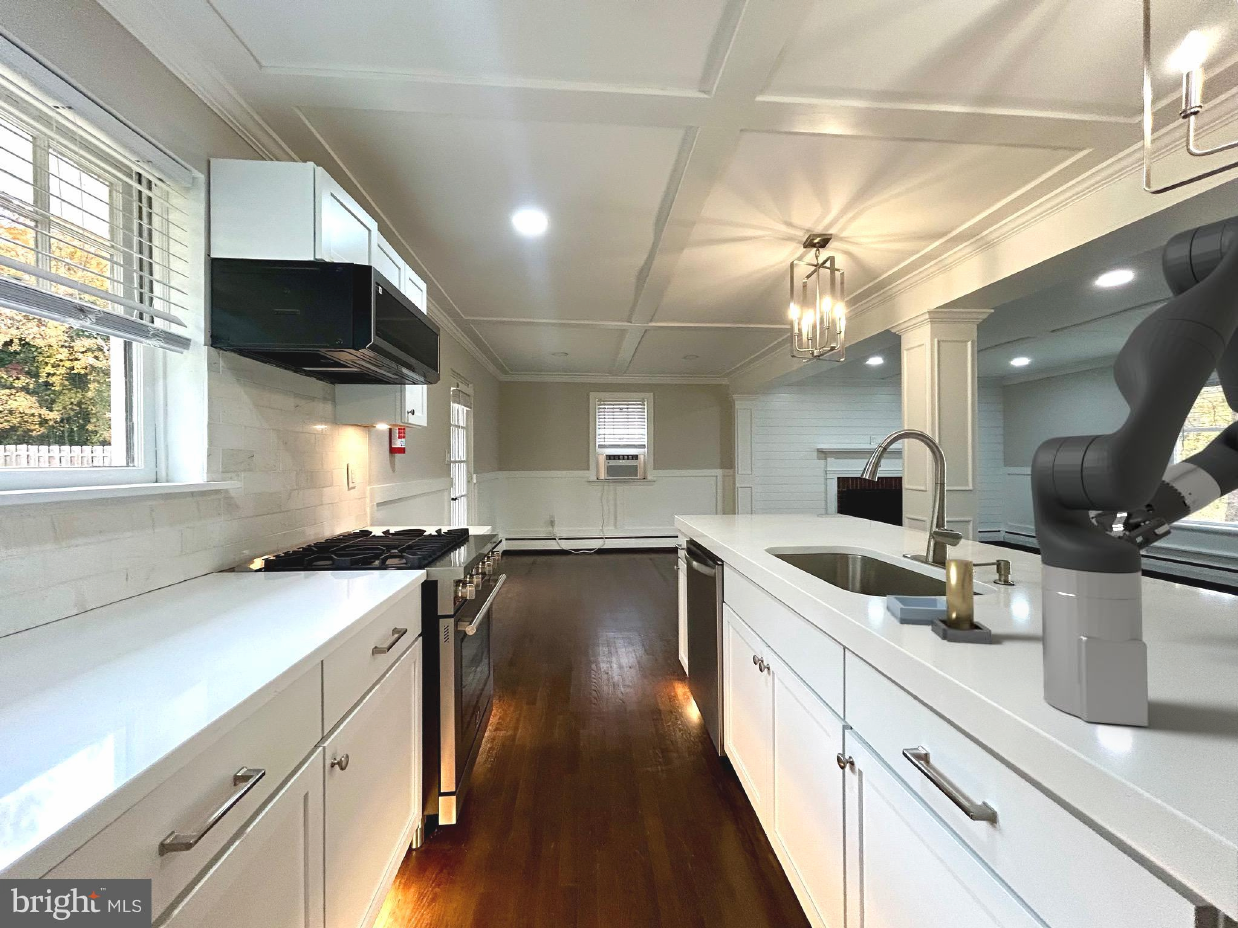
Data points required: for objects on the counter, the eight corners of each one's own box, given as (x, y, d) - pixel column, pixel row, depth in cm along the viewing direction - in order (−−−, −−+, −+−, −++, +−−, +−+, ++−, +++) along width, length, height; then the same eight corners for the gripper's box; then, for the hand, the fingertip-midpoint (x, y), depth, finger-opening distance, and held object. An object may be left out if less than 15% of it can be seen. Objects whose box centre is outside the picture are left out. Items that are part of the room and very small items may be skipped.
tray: (960, 626, 98) (959, 610, 98) (900, 623, 101) (900, 607, 101) (940, 612, 108) (940, 597, 108) (886, 609, 110) (886, 595, 110)
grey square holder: (994, 644, 88) (994, 632, 88) (944, 641, 90) (944, 629, 90) (975, 630, 96) (975, 619, 96) (929, 628, 97) (929, 617, 97)
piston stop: (978, 640, 90) (976, 563, 91) (951, 638, 91) (950, 562, 92) (968, 633, 94) (967, 559, 94) (943, 631, 95) (942, 558, 95)
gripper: (1120, 468, 92) (1029, 516, 95) (1200, 484, 78) (1090, 540, 81) (1140, 505, 93) (1049, 551, 95) (1223, 527, 79) (1114, 581, 81)
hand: (1068, 546), depth 88 cm, fingers open, 8 cm apart
